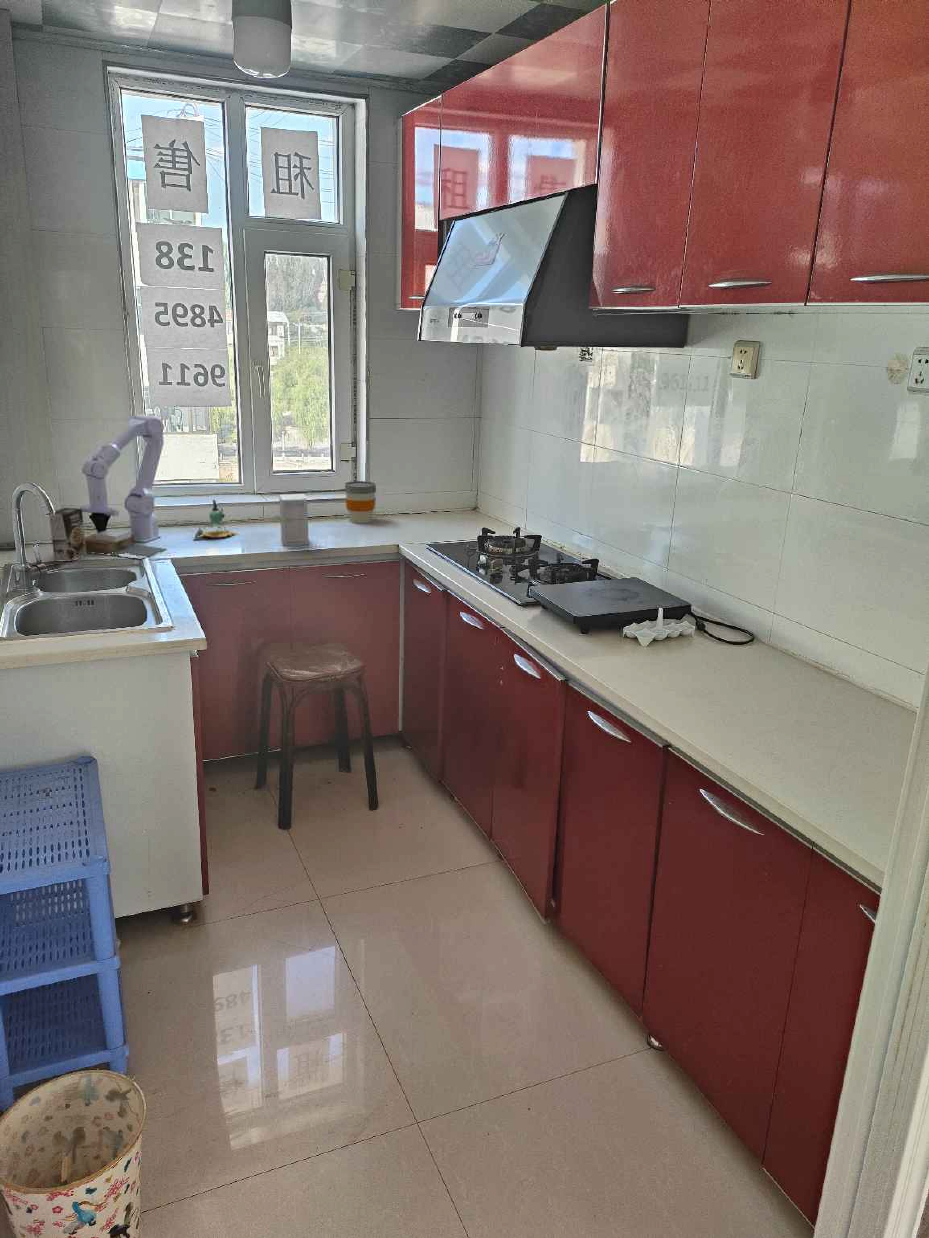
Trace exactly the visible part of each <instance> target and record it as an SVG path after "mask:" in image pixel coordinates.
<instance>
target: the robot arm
mask: <svg viewBox="0 0 929 1238" xmlns="http://www.w3.org/2000/svg"><path fill="white" fill-rule="evenodd" d="M164 429H165V425H164V423H163V421H162V419H161V418H159V417H158V416H157V415H156V416H155V415H154V416H153V415H147V414H142V413H137V414H136V413H135V415H133V416H132V418H131V419H129V420H128V424H127V426H126V427H125V428H124V429H123V430H122V431H121V432H120V434H119V435H118V436H117V437H116V438H115V440H114V441H113V442H112V443H106V444H103V445H101V449H100V450H99V451H98V452H97V453H96V454H95V455H93V456H92V459H88V460H86V461H85V462H84V464H83V467H81V471H82V473H83V474H84V475H85V478H86V483H87V493H88V499H89V505H81V506H79V509H82V513H89V514H90V515H89V516H88V518H89V519H90V520H91V522H92V523H93V526H94V528H95V529H96V531H97V532H96V533H100V532H103V531H106V530H107V528H108V523H109V521H110V518H111V516H112V517H115V518H116V517H119V516H120V510H119V509H115V508H112V507H109V503H108V493H107V484H106V476H108V473H109V469H110V467H111V466H113V464H114V463H115V462H116V461H117V460H118V459H119V458H120V457H121V451H122V449H123V448H125V447H126V446H127V445H129V443H131V442H132V441H133V440H134V439H135V438H136V437H142V438H143V441H144V443H145V449H144V452H143V455H142V459H141V464H140V467H139V470H138V475H137V479H136V483H135V485H134V487H132V488H131V489H130V490H129V492H128V495H127V497H125V499H124V503H123V504H124V509H125V510H126V511H127V512H128V515H129V522H130V524H129V525H130V531H131V534H134V542H137V543H148V542H150V541H153V540H156V539H159V538H161V537H162V535H161V534H160V533H159V522H158V518H157V515H155V514H154V511H155V499H156V497H155V495H154V493H153V491H152V489H153V486H154V482H155V478H156V474H157V471H158V466H159V463H160V458H161V456H162V451H163V447H164V443H165V442H164Z"/></svg>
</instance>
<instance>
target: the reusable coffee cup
mask: <svg viewBox="0 0 929 1238" xmlns="http://www.w3.org/2000/svg"><path fill="white" fill-rule="evenodd" d="M344 484H345V485H344V492H345V499H344V500H345V505H346V510H347V512H348V514H347V515H348V522H350V523H353V524H368V523H371V522H372V521H373V514H374V513H373V512H374V510H375V505H376V492H377V486H376V485H377V484H376V483H375V482H373V481H366V480H365V481H364V480H354V481H347V482H345V483H344Z"/></svg>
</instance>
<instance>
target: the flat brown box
mask: <svg viewBox="0 0 929 1238" xmlns="http://www.w3.org/2000/svg"><path fill="white" fill-rule="evenodd" d="M135 542H136V541H134V534H131V537H130V538H127V539H124V540H121V541H118V542H111V541H104V540H97V539H96V533H93V534H91V535H90V534H89V535H87V536H85V543H86V552H87V553H89V552H95V553H94V554H96V553H104V554H109V553H112V552H116V551H118V550H121V549H124V548H127V547H130V546H133V545H136V544H135Z"/></svg>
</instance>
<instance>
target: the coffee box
mask: <svg viewBox="0 0 929 1238" xmlns="http://www.w3.org/2000/svg"><path fill="white" fill-rule="evenodd" d="M55 511H56V512H55V514H54V515H49V514H48V517H49V525H50V533H51V541H52V552H53V560H54V561H55V560H70V561H71V560H74V559H76V558H79V557H81V556H85V557H86V555H88V554H87V553H88V552H86V543H85V537H86V536H85V526H84V516H83V512H82V509H80V508H78V507H75V508H74V507H62V508H61V509H58V510H55Z"/></svg>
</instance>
